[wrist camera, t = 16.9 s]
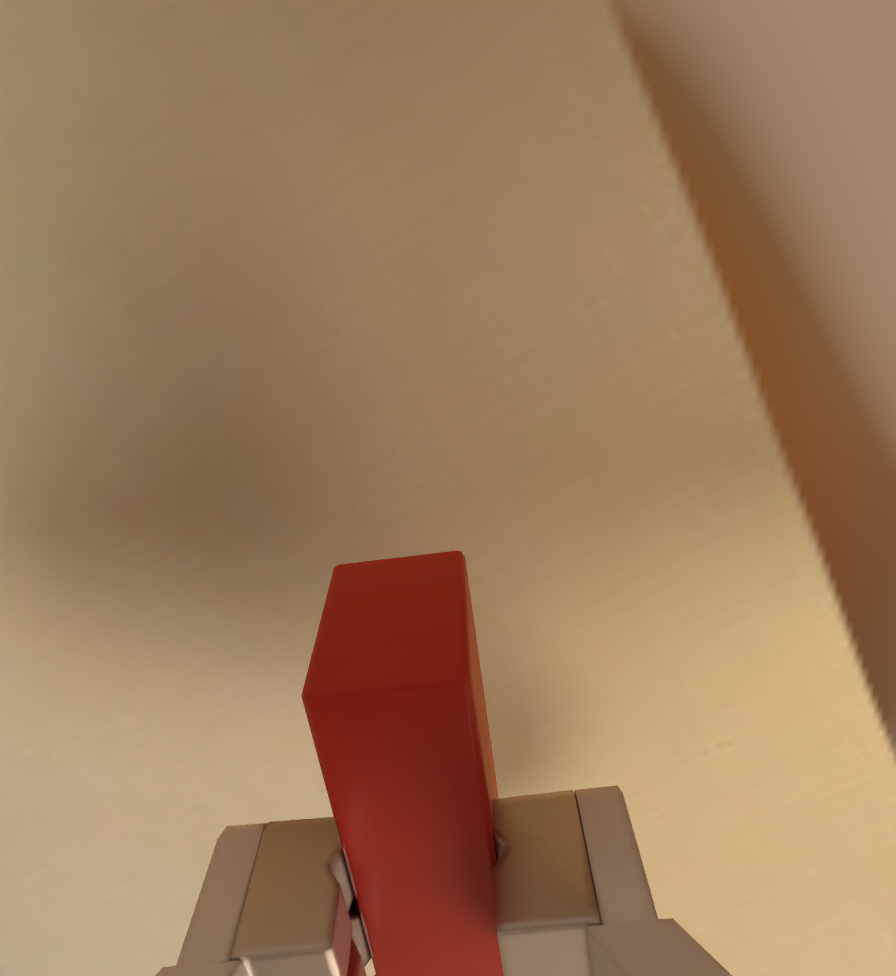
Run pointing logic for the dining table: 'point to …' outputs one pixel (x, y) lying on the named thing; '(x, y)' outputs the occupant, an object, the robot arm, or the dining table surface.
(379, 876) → the red spoon
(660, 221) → the dining table surface
